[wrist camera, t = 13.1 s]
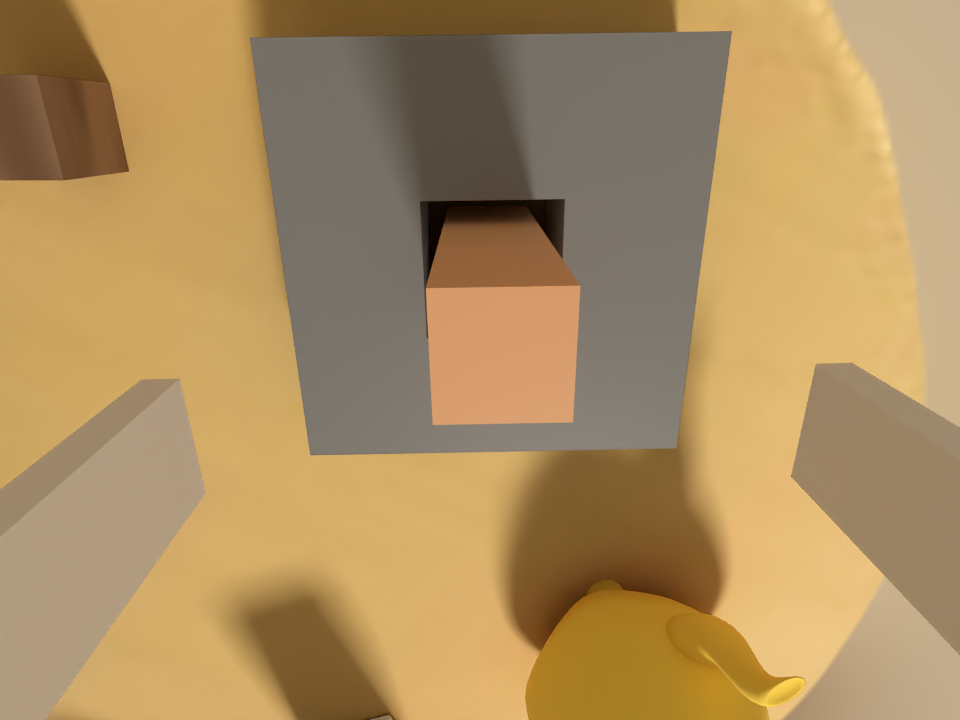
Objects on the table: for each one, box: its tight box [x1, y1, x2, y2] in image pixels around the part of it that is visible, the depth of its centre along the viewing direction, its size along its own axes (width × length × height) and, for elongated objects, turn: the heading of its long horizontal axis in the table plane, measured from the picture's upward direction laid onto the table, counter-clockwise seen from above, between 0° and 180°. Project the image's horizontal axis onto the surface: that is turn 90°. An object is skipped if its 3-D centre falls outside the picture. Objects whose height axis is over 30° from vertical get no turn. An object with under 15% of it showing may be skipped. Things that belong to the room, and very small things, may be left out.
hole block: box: [250, 31, 732, 455], centre depth 28 cm, size 18×18×6 cm
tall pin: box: [426, 206, 580, 425], centre depth 23 cm, size 4×4×16 cm
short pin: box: [0, 75, 129, 180], centre depth 26 cm, size 4×4×5 cm
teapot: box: [525, 580, 806, 720], centre depth 35 cm, size 14×20×13 cm
